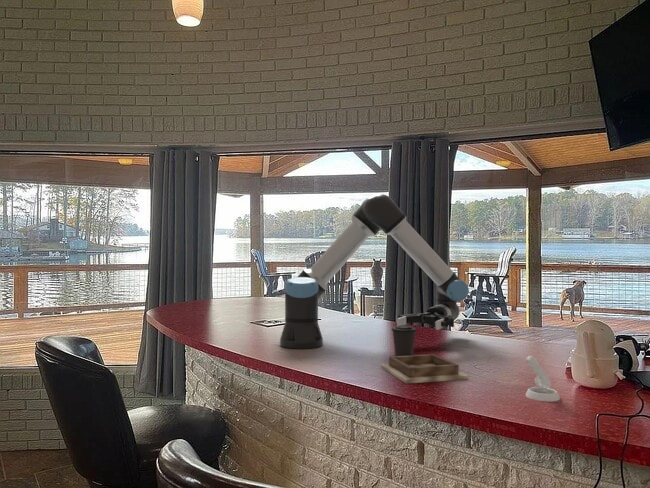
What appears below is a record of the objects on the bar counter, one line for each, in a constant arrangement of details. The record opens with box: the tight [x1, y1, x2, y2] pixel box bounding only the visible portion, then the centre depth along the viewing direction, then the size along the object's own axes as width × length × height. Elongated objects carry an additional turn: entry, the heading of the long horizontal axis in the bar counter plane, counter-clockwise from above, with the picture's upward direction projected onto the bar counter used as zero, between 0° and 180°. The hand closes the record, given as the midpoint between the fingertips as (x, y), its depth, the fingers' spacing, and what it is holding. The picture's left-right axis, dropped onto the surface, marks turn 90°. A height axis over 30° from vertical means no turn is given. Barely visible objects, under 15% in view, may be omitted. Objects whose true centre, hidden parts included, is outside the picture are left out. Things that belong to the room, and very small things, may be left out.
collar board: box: [380, 353, 469, 384], centre depth 153 cm, size 18×18×4 cm
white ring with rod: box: [525, 355, 561, 403], centre depth 130 cm, size 8×12×7 cm
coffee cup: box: [391, 325, 417, 356], centre depth 173 cm, size 8×8×10 cm
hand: (416, 324), depth 181 cm, fingers open, 13 cm apart
